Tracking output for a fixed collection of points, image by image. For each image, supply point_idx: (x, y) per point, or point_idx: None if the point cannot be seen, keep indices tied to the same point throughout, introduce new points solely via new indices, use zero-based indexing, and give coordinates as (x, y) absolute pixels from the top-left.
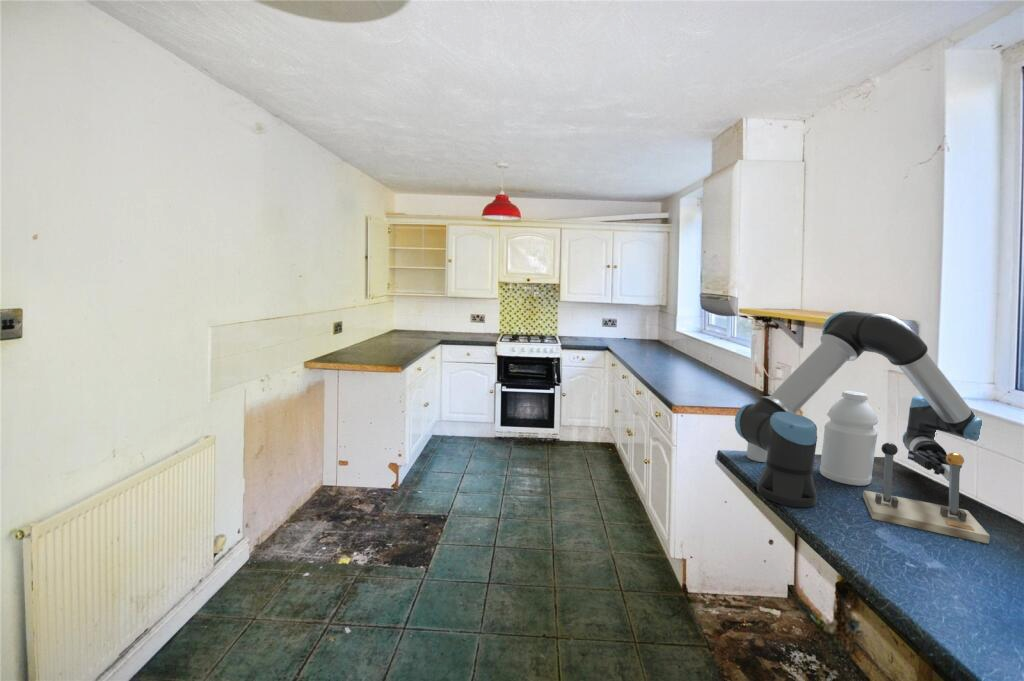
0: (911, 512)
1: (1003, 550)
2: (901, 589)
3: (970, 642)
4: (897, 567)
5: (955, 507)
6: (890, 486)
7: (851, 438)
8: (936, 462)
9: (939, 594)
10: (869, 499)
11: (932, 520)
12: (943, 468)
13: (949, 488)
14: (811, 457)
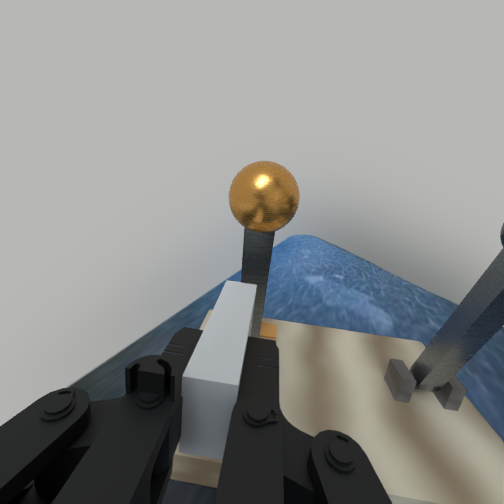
0: (347, 360)
1: (196, 313)
2: (343, 258)
3: (307, 240)
4: (349, 272)
5: None
6: (434, 342)
7: None
8: (270, 435)
9: (317, 257)
10: (472, 409)
11: (303, 336)
12: (248, 351)
13: (263, 308)
14: None
